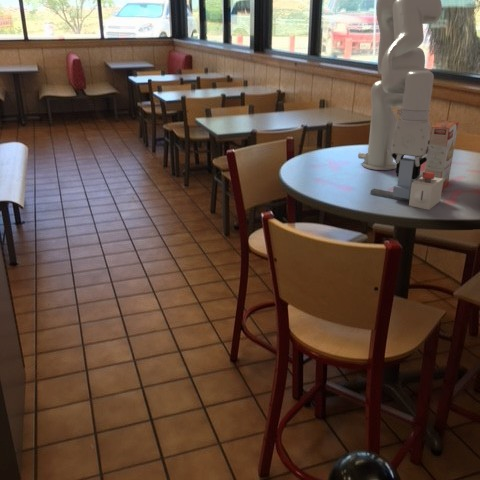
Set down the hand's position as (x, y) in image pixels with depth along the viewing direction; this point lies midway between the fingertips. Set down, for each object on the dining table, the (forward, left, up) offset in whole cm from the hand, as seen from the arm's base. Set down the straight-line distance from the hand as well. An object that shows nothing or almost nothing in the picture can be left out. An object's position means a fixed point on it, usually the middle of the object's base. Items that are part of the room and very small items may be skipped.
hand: (407, 176), depth 155 cm
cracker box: (+3, +19, -8) cm, 21 cm away
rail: (-4, 0, -7) cm, 8 cm away
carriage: (0, 0, -6) cm, 6 cm away
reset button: (+6, 0, -1) cm, 6 cm away
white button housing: (+6, 0, -7) cm, 10 cm away
